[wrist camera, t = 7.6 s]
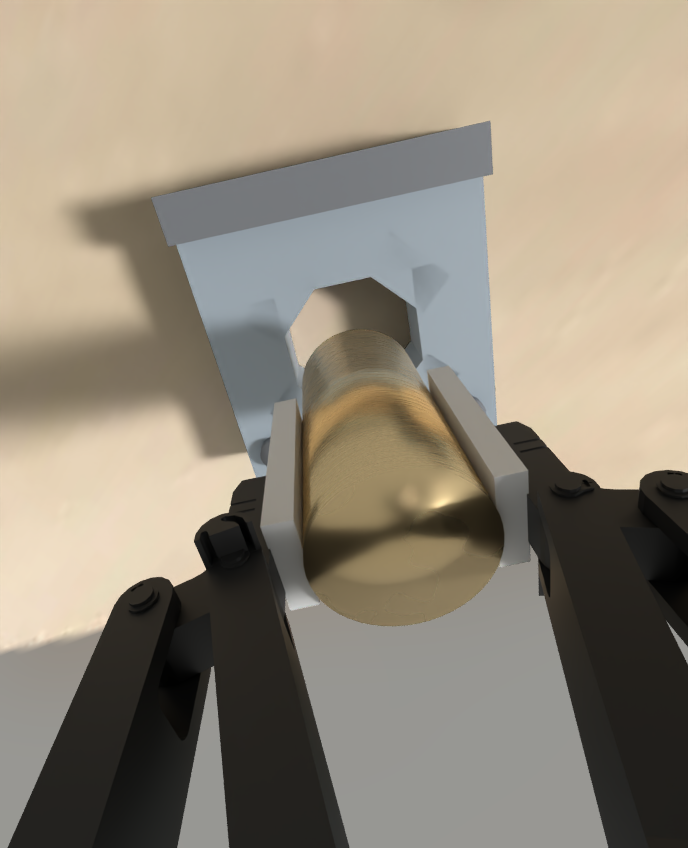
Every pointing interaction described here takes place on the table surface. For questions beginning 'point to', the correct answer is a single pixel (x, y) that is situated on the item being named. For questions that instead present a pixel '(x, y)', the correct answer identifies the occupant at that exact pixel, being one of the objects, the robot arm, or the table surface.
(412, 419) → the brass cylinder
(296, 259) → the jig
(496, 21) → the table surface
